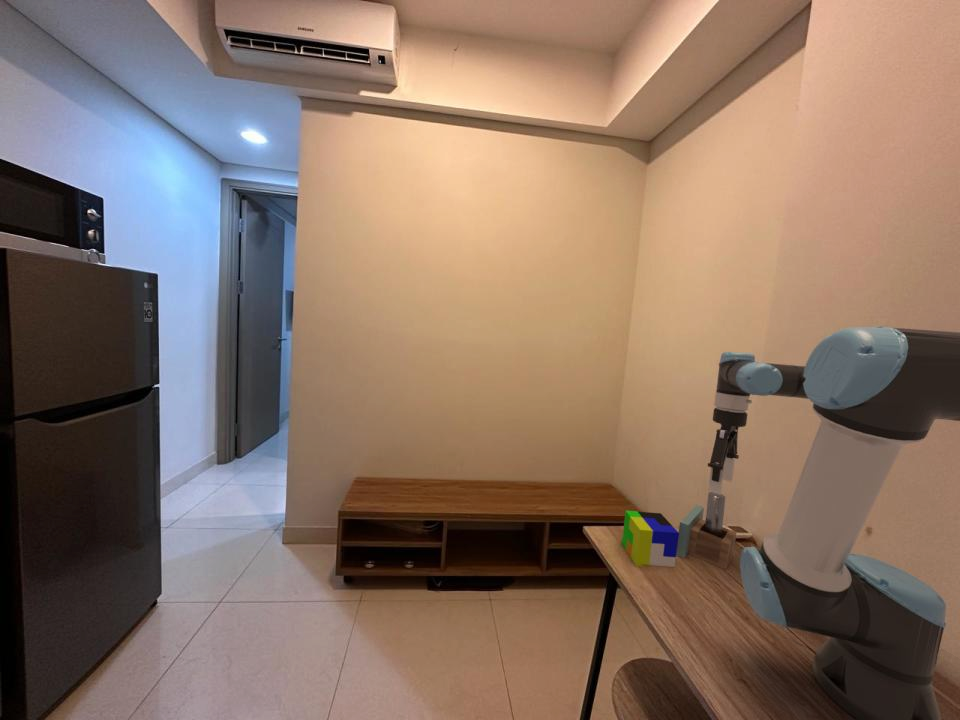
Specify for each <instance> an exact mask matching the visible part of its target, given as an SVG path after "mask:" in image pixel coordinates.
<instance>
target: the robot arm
mask: <svg viewBox="0 0 960 720" xmlns="http://www.w3.org/2000/svg"><path fill="white" fill-rule="evenodd" d="M716 383H717V384H716V390H715V394H714V395H715V396H714V404H713V406H715V407H714V408H713V413H712V421H713V422H714V423H716V424H720V428H719V429H718V428H717V430H716V435H715V440H714V443H713V448H712V453H711V456H710V461H709V463H707V467H709V468H710V472H709V482H708V487H707V488H708V489H707V491H708V492H713V493H716V494H719V495H720V494H721V493H722V487H723V481H727V482H733V478H734V477H733V476H734V470H735V464H736V463H735V462H736V459H737V460H739V457H740V455H738V435H739V434H738V433H739V428H742V427H743V428H744V427H746V426H747V421H748V416H749V415H748V413H747V412H746V411H748V410H749V404H752V403H753V401H752V399H750V396H751V395H752V396H760V397H761V396H762V397H766V396H774V397H775V396H776V397H786V398H797V399H806V400H809V401H810V402H811V403H813V404H812V410H813V412H814V413H815V414H816V416H817V417H818V418H819V419H820V420H821V421H820V423H819V426H818V429H817V432H816V434H815V436H814V439H813V442H812V444H811V447H810V450H809V452H808V454H807V457H806V460H805V462H804V465H803V467H802V470H801V472H800V476H799V478H798V481H797V483H796V486H795V488H794V491H793V494H792V495H791V499H790V501H789V504H788V507H787V509H786V512H785V515H784V517H783V520H782V522H781V525H780V527H779V529H778V531H774V532H769V533H767V535H766V536H764V538H763V541H762V544H761V546H760V548H757V547H755V546H748V547H747V546H746V547H744V548H743V549H742V551H741V553H740V558H739V560H740V561H739V568H740V576H741V582H742V583H741V584H742V586H743V589H744V590H743V591H744V593H745V595H746V598H747V602H748V603H749V606H750V607H751V609H752V611H753V612H754V613H755V614H756V616H758V618H760V619H762V620H764V621H766V622H769V623H770V624H771V623H772V624H775V625H778V626H781V627H782V628H785V629H786V628H789V629H794V630H798V631H802V632H806V633H807V632H808V633H811V634H817V635H821V636H825V637H828V638H827V639H826V641H824V643H823V644H822V645H821V646H820V648H819V649H818V650H816V652H815V654H814V657H813V663H812V672H813V676H814V678H815V680H816V682H817V684H819V686H820V687H821V688H822V690H823V691H824V692H825V693H826V694H827V695H828V696H829V697H830V699H832V700H833V702H835V703H836V704H837V705H838V706H839V707H841V709H843V710H844V711H845V712H847V713H848V714H849V715H851V716H852V717H854V718H855V719H856V720H943V719H942V716H941V713H940V709H939V706H938V701H937V697H936V694H935V691H934V686H933V680H934V679H933V678H934V675H935V671H936V665H937V660H938V655H939V651H940V647H941V642H942V638H943V634H944V631H945V630H944V629H945V628H946V627H947V623H946V610H947V606H946V605H947V604H946V602H945V600H944V598H943V597H942V596H941V595H940V593H938V591H936V590H935V589H934V588H933V587H931V586H930V585H929V584H927V583H925V582H924V581H923V580H921V579H919V578H918V577H916V576H914V575H913V574H911V573H909V572H907V571H905V570H903V569H901V568H899V567H897V566H895V565H892V564H890V563H888V562H885V561H882V560H880V559H877V558H874V557H871V556H867V555H863V554H861V553H860V554H859V553H851V552H852V550H853V548H854V545H855V544H856V542H857V539H858V538H859V535H860V533H861V531H862V529H863V527H864V525H865V524H866V521H867V519H868V516H869V515H870V513H871V511H872V509H873V507H874V504H875V502H876V501H877V498H878V496H879V494H880V492H881V490H882V488H883V486H884V484H885V482H886V480H887V478H888V477H889V474H890V472H891V469H892V468H893V466H894V464H895V461H896V460H897V457H898V455H899V453H900V451H901V449H902V447H903V446H904V445H909V444H915V443H918V442H919V443H920V442H922V441H924V440H925V438H926V437H927V435H928V433H929V431H930V429H931V427H932V425H933V424H934V422H935V421H936V420H946V421H957V422H960V332H959V331H944V330H943V331H942V330H930V329H929V330H928V329H916V328H904V327H901V328H900V327H888V326H884V325H883V326H873V327H870V326H869V327H868V326H867V327H864V326H863V327H860V326H859V327H858V326H856V327H855V326H854V327H846V328H841V329H839V330H836V331H834V332H833V333H832V334H830V335H827V336H825V337H824V338H823V339H822V340H821V341H820V342H818V344H817V345H816V346H815V347H814V348H813V350H812V352H811V353H810V355H809V356H808V358H807V361H806V364H805V365H794V364H782V363H781V364H779V363H769V362H760V361H756V357H755V354H753V353H750V352H748V353H747V352H738V351H737V352H736V351H723V352H722V353H721V354H720V360H719V363H718V374H717V382H716Z"/></svg>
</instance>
